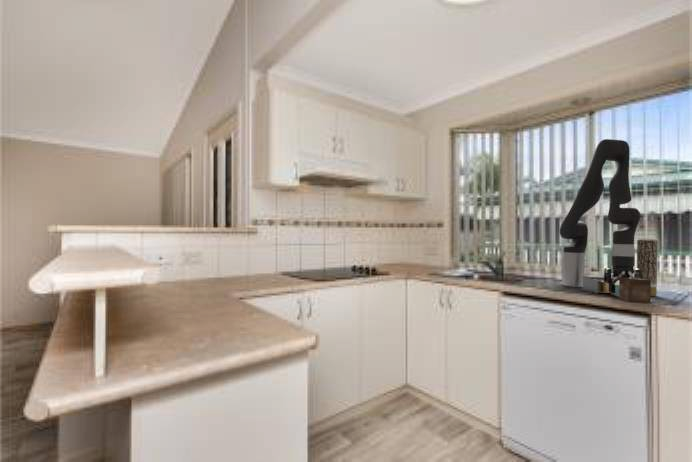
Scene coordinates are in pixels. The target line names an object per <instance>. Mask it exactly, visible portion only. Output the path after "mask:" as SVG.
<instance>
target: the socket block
mask: <svg viewBox="0 0 692 462" xmlns="http://www.w3.org/2000/svg"><path fill="white" fill-rule="evenodd" d="M618 281H619V282H618V283H619V295H618V300H620V301H622V302H627V303H646V302H650V303H651V298H652V296H651V280H648V279H642V278H619V280H618Z"/></svg>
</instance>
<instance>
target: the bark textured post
mask: <svg viewBox="0 0 692 462" xmlns="http://www.w3.org/2000/svg"><path fill="white" fill-rule="evenodd" d="M658 242H659V241H658V239H657V238H655V239H654V238H637V239H636V269H641V270H642V279H648V280H651V297H656V296H657V289H658Z"/></svg>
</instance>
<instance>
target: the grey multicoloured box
mask: <svg viewBox="0 0 692 462" xmlns="http://www.w3.org/2000/svg"><path fill="white" fill-rule="evenodd" d="M601 281H604V275H586V274H585V275H583V286H582V287H581V291H584V292H585V291H586V292H588V291H589V292H588V293H592V292H594V293H593V294H596V293H607V292H602V291H601Z"/></svg>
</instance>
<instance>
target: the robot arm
mask: <svg viewBox="0 0 692 462" xmlns="http://www.w3.org/2000/svg"><path fill="white" fill-rule="evenodd" d="M595 147H596V148H595V150H594V152H593V155H592V157H591V161H590V164H589V167H588V169H587V172H586V174H585V177H584V179H583V181H582V182H581V185H580V188H579V189H578V191H577V194H576V197H575V199H574V200H573V202H572V203H573V204H572V205H571V207H570V209H569V210H568V213H567V215H566V216H565V217H564V219H563V221H562V223H561V225H560V228H559V234H560V238H562V239H565V240H571V242H570V243H569V244H566V246H565V245H564V247H563V253H562V255H563V257H562V258H563V259H562V266H561V267H562V269H561V271H562V272H561V284H562V285H563V286H565V287H571V288H572V287H573V288H582V286H583V275H586V274H585V273H586V271H585V270H586V249H587V246H588V239H589V238H588V236H589V230H588V229H589V228H588V225H587V224H586V223H585V222H584V221H580V220H581V219H582V217H583V216H584V215H585V214H586V213H588V211H590V210H591V209H592V208H594V207H595V206H596V205H597V204H598V202H599V201H600V199H601V196H602V195H603V193H604V190H605V184H604V183H605V182H604V178H603V168H604V166H605V163H606V162H609V161H610V162H614V163H615V172H614V173H613V176H612V177H611V179H610V181H609V183H608V191H609V198H610V203H609V210H608V213H607V219H608V221H609V222H610V223H611V224H613V225H625V226H624V228H622V229H618V230H614V231H613V233H612V246H611V247H612V248H611V266H612V268H608V267H607V268H604V271H603V277H604V282H606V283H608V284H609V292H610V293H615V285H614V284H615V283H618V281H619V278H642V270H641V269H637V268H634V267H635V265H636V262H635V261H636V260H635V259H636V257H635V256H636V249H635V235H636V230H637V228H638V225H639V223H640V220H641V212H640V210H638V209H637V208H636V207H621V206H622V205H625V204H629V203H630V202H632V199H633V198H632V193H631V187H630V178H629V175H630V173H629V172H630V154H631V153H630V150H631V149H630V146H629V142H627V141H626V140H621V139H609V138H605V139H602V140H601V141H599V143H598V144H597V145H596V146H595ZM620 205H621V206H620Z"/></svg>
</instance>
